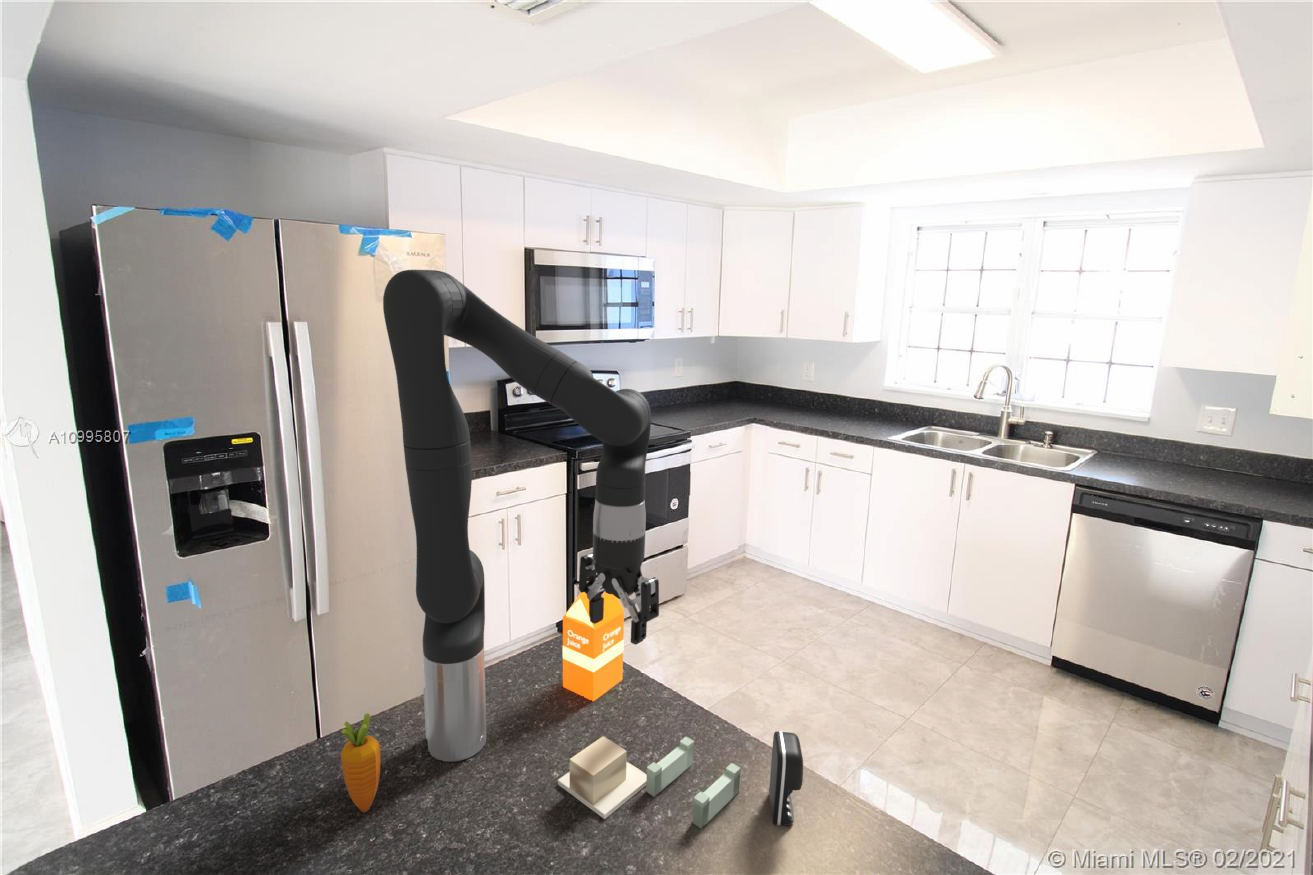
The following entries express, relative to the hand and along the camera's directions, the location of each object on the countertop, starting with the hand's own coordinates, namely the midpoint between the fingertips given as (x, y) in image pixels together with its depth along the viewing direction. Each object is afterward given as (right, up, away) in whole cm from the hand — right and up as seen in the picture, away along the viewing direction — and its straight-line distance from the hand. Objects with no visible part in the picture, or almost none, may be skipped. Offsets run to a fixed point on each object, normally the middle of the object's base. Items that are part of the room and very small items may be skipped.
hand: (616, 631), depth 99 cm
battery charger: (+25, -26, -2) cm, 36 cm away
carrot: (-35, -24, -5) cm, 43 cm away
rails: (+11, -25, +1) cm, 27 cm away
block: (-3, -23, +1) cm, 23 cm away
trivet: (-2, -24, +2) cm, 24 cm away
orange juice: (-6, -18, +28) cm, 34 cm away
